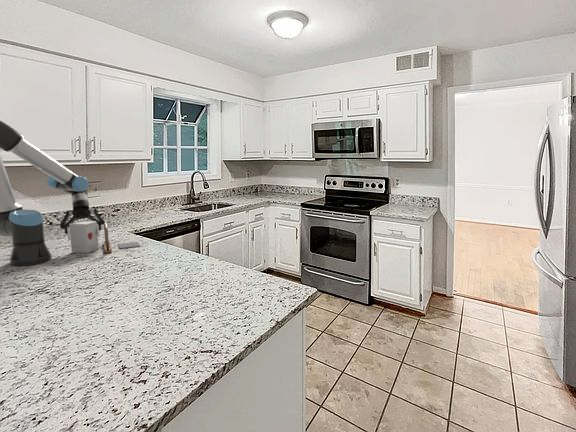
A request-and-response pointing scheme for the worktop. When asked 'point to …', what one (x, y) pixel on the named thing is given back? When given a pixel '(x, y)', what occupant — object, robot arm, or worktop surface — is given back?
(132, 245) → the mat
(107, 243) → the cabinet door handle
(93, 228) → the supplement box
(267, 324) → the worktop surface
